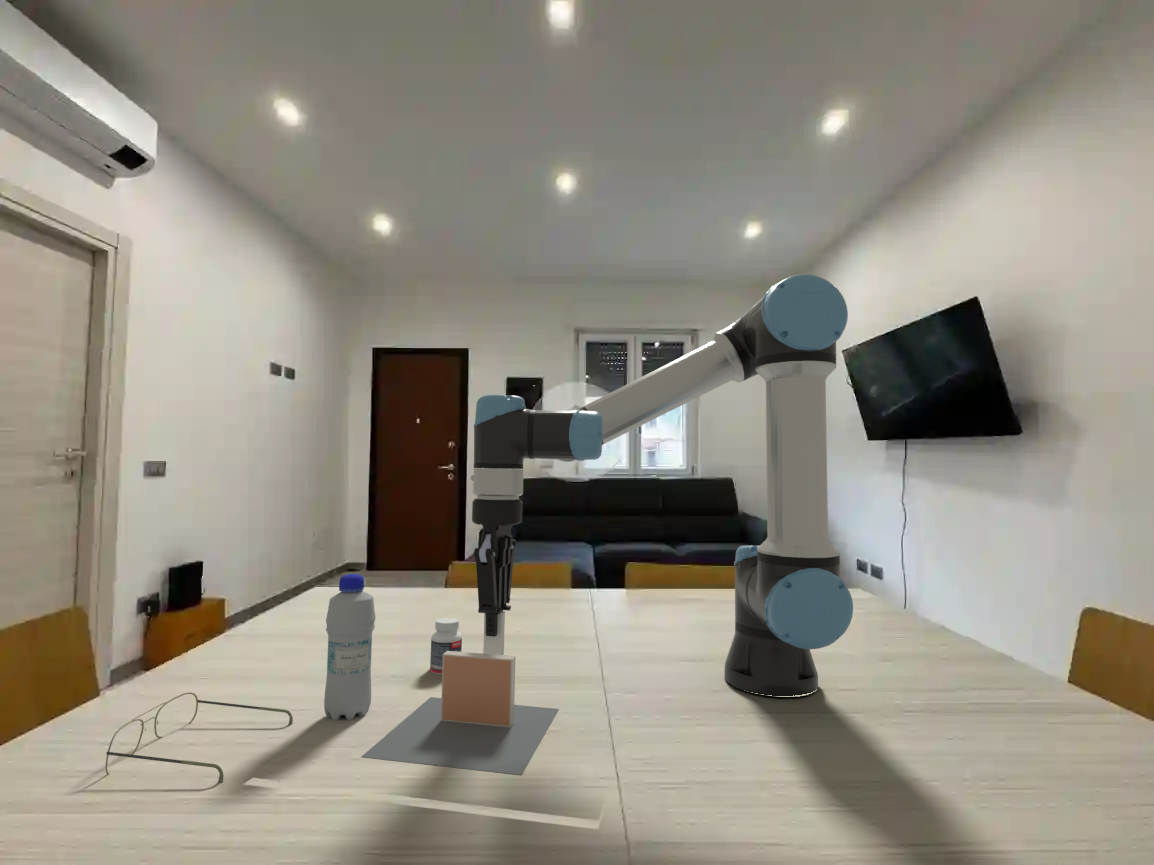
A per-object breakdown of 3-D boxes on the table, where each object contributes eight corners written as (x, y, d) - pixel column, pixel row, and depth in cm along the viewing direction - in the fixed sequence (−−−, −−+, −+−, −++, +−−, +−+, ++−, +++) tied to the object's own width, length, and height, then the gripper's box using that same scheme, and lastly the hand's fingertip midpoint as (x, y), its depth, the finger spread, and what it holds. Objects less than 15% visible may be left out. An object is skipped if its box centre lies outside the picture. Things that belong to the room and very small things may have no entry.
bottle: (324, 729, 84) (330, 579, 85) (319, 711, 90) (325, 571, 91) (376, 720, 87) (381, 576, 88) (368, 704, 93) (372, 568, 94)
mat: (559, 713, 91) (559, 708, 91) (521, 780, 71) (521, 774, 71) (430, 701, 94) (430, 697, 94) (360, 761, 75) (361, 756, 75)
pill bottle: (453, 678, 105) (455, 625, 105) (424, 676, 106) (426, 623, 106) (465, 668, 110) (466, 617, 110) (437, 666, 111) (439, 615, 111)
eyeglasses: (186, 724, 86) (188, 686, 86) (292, 727, 85) (294, 689, 86) (92, 782, 70) (95, 736, 70) (222, 786, 70) (224, 740, 70)
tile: (513, 722, 86) (515, 656, 86) (510, 727, 84) (512, 659, 84) (445, 715, 87) (447, 650, 88) (440, 720, 86) (442, 654, 86)
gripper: (488, 495, 101) (484, 642, 100) (457, 498, 88) (452, 667, 87) (533, 496, 100) (529, 646, 98) (508, 500, 87) (504, 672, 86)
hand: (493, 656), depth 93 cm, fingers closed
